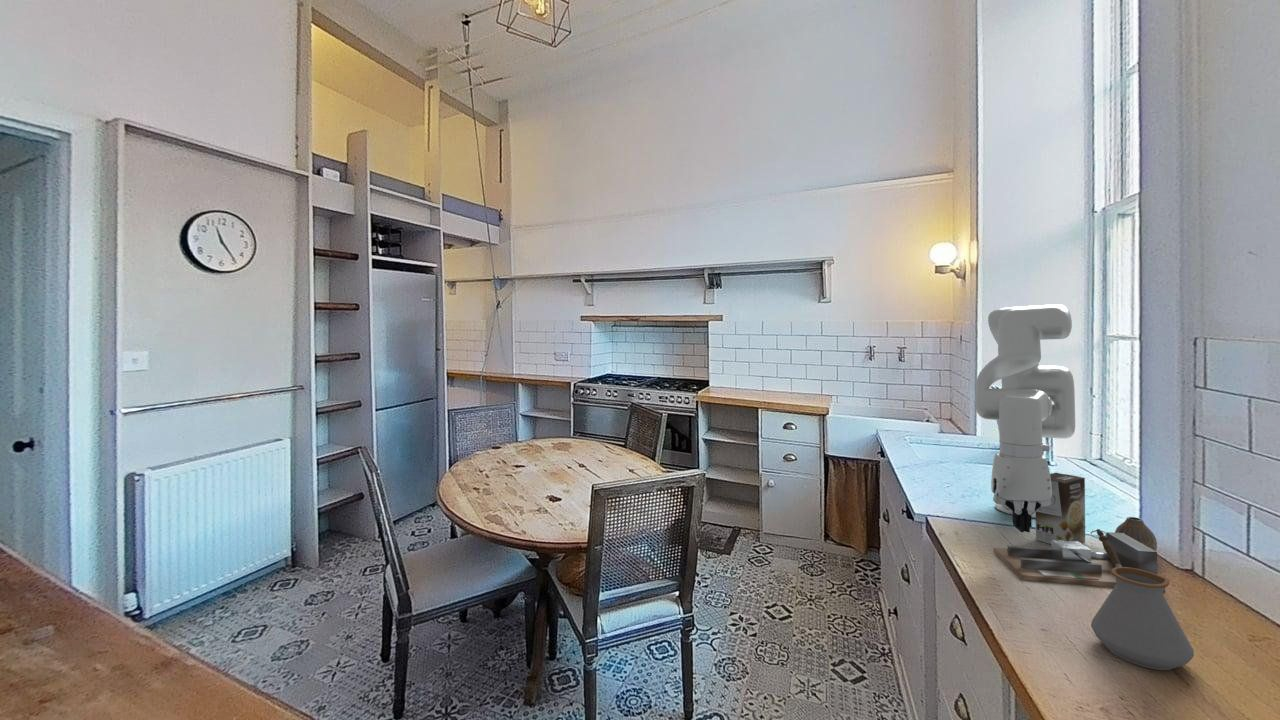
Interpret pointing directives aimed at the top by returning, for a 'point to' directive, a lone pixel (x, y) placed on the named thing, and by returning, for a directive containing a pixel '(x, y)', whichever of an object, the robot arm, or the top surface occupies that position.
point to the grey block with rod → (1075, 552)
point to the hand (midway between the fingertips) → (1022, 529)
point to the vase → (1138, 532)
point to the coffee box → (1063, 511)
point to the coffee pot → (1140, 619)
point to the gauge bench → (1078, 563)
